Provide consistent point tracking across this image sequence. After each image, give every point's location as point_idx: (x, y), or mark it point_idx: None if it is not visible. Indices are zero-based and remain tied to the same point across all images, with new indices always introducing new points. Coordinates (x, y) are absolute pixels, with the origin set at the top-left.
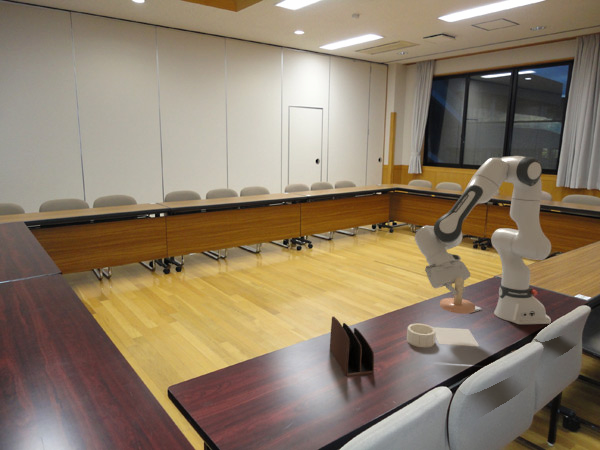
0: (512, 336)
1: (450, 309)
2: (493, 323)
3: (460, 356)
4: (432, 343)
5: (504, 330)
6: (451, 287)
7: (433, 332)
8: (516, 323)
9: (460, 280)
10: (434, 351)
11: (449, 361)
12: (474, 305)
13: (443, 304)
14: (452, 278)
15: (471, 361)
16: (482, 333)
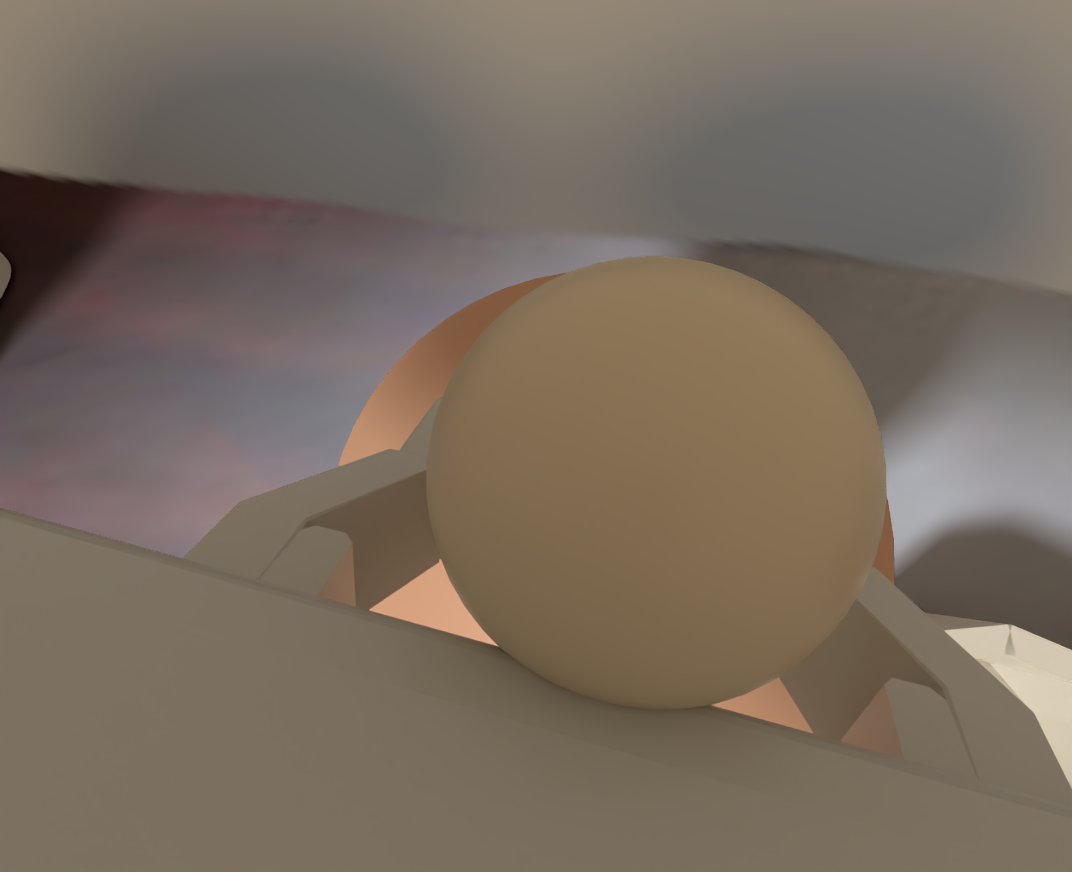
0: (261, 234)
1: (887, 532)
2: (99, 416)
3: (875, 379)
4: (944, 616)
5: (187, 309)
6: (950, 646)
7: (972, 640)
8: (6, 283)
9: (822, 333)
10: (969, 566)
11: (1021, 405)
12: (476, 313)
13: (799, 714)
14: (818, 859)
15: (882, 293)
16: (352, 409)
